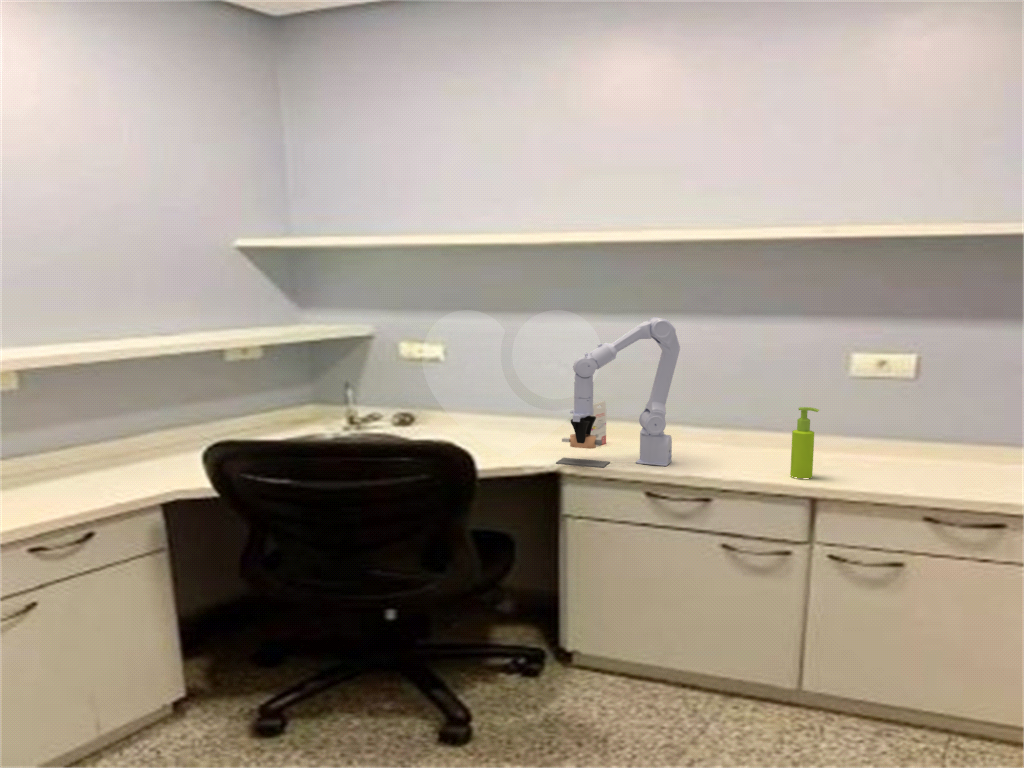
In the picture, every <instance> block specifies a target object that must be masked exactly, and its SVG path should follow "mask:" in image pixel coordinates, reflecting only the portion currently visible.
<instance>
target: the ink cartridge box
mask: <svg viewBox="0 0 1024 768" xmlns="http://www.w3.org/2000/svg"><path fill="white" fill-rule="evenodd" d="M606 405H607V404H606V400H603V401H599V402H596V403H593V408H594V414H593V415H591V416H595V417H596V420H595V421H594V424H593V426H592V429H591V434H590V435H595V436H596V440H602V445H604V444H606V443H607V406H606ZM599 406H601V407H599ZM599 446H600V445H596V447H599Z"/></svg>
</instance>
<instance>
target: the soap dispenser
mask: <svg viewBox="0 0 1024 768" xmlns="http://www.w3.org/2000/svg"><path fill="white" fill-rule="evenodd" d="M798 411H800V417H798V418H797V420H796V421H797V422H796V423H797V425H796V426H797V427H796V429H794V430H792V431H791V456H790V474H789V475H791V476H793V477H797V478H811V477H812V478H813V472H814V471H813V470H814V468H813V467H814V446H815V431H813V430H811V419H810V418H808V411H810V412H815V413H818V412H820V409H818V408H815V407H808V406H800V407H798ZM791 476H790V477H791Z"/></svg>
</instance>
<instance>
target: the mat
mask: <svg viewBox="0 0 1024 768" xmlns="http://www.w3.org/2000/svg"><path fill="white" fill-rule="evenodd" d="M555 464H557V465H558V464H559V465H567V466H568V465H569V466H579V467H589V468H599V469H601V468H602V469H605V467H607V466H608V465H609V464H611V461H610V460H609V461H606V460H597V459H588V458H586V459H584V458H572V457H561V458H560V459H559V460H557V461H556V462H555Z"/></svg>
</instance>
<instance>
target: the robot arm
mask: <svg viewBox="0 0 1024 768" xmlns="http://www.w3.org/2000/svg"><path fill="white" fill-rule="evenodd" d="M652 339H653V341H655V342H656V343H657V345H658V347H659V348H660V349H661V354H660V357H659V361H658V365H657V368H656V373H655V376H654V380H653V384H652V387H651V392H650V395H649V400H648V401H647V402H646V404H645V407H644V409H643V411H642V412H641V413H640V415H639V417H638V420H639V421H638V422H639V424H640V427H642V428H641V430H640V431H639V459H637V460H636V461H635V464H641V465H652V466H662V467H663V466H664V467H667V466H668V465H669V464H670V463H671V462H672V456H673V455H672V451H673V450H672V449H673V447H672V446H673V440H672V439H673V438H672V436H671V435H669V434H665V429H666V424H667V423H666V414H667V412H666V409H667V408H666V404H667V399H668V396H669V392H670V389H671V384H672V382H673V377H674V373H675V370H676V366H677V362H678V358H679V354H680V350H681V346H680V342H679V340H678V336H677V333H676V328H675V326H674V325H673V324H672V323H671V322H670V320H668V319H666V318H661V317H659V316H652V317H650V318H649V319H648V320H645V321H642V322H641V323H639V324H638V325H636V326H634V327H633V328H632V329H630V330H629V331H627V332H626V333H625V334H624V333H623V335H621V336H620V337H619V338H617V339H616V340H615V341H613V342H611V343H609V342H604V343H602V342H599V343H598V344H597V347H596V348H594V349H592V350H591V351H589V352H585V353H583V355H584V356H580V357H578V358H576V360H575V361H574V363H573V365H572V368H573V369H572V370H573V372H574V382H573V384H574V385H573V386H574V389H573V393H574V394H573V397H574V398H573V410H570V411H569V413H570V414H572V418H571V419H570V424H571V425H572V428H573V430H574V434H575V435H576V440H577V443H584V442H585V438H586V435H590V434H591V429H592V426H593V424H594V421H595V420H596V417H595V416H591V415H593V414H594V408H593V404H594V382H593V381H594V380H593V379H594V374H595V373H596V370H600V369H601V368H602V367H605V366H606V365H607V364H609V363H611V362H612V361H614V360H615V359H616V358H617V354H618V353H619V352H620V351H622V350H624V349H626V348H628V347H629V346H631V345H632V344H634V343H635V342H637V341H640V340H652Z"/></svg>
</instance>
